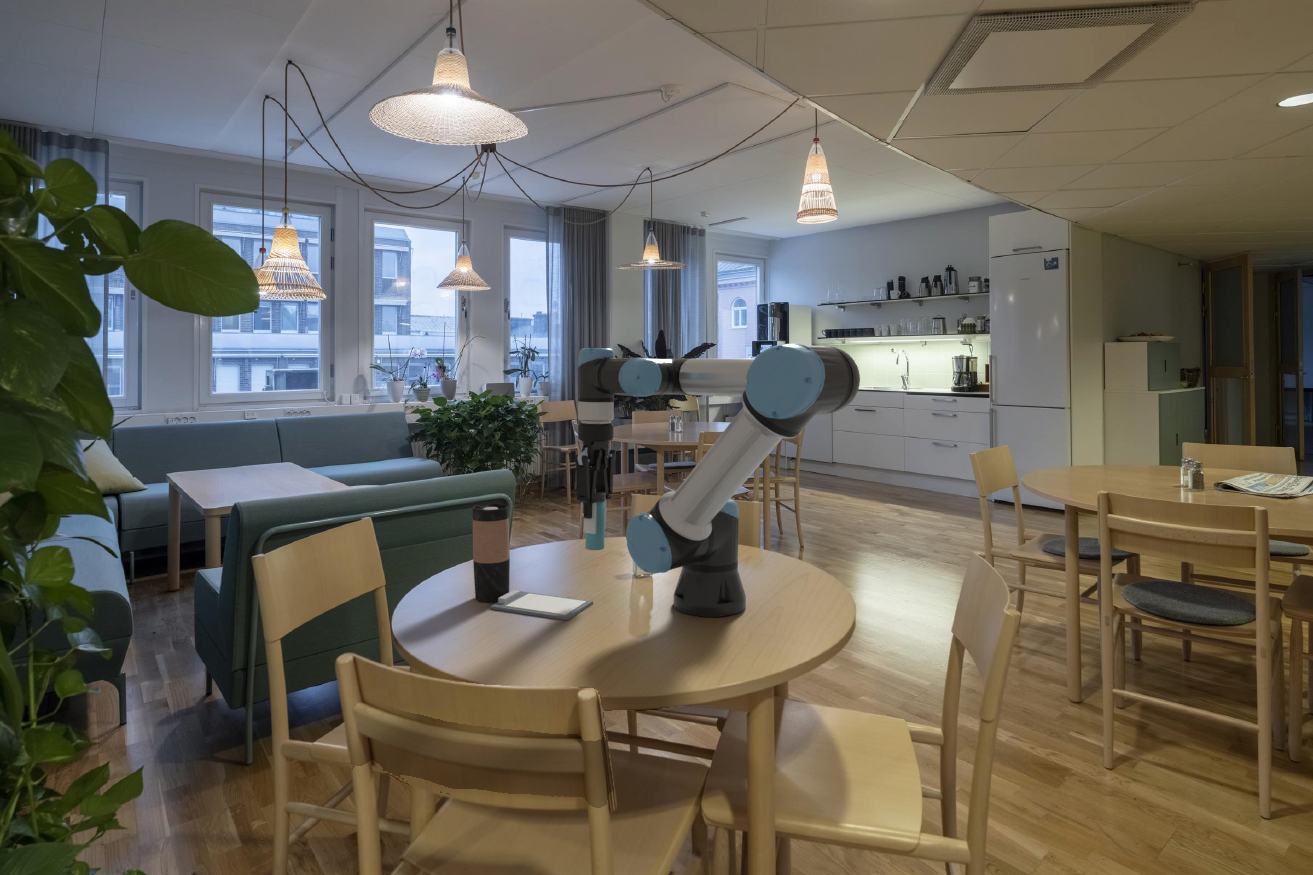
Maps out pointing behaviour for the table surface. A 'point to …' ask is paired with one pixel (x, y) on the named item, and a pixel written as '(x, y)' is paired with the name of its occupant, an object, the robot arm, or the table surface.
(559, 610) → the clipboard
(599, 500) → the marker
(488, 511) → the travel mug
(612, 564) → the table surface
